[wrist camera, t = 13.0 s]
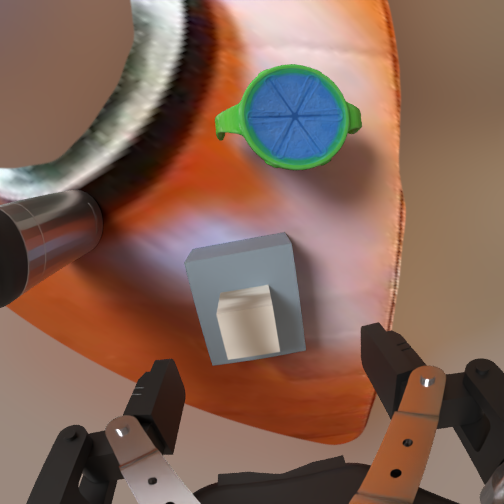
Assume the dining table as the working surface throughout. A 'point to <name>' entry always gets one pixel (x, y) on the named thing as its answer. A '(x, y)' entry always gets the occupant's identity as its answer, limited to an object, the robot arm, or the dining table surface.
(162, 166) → the dining table surface
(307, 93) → the snack cup
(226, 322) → the cream cube
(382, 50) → the dining table surface
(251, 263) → the slate stand
